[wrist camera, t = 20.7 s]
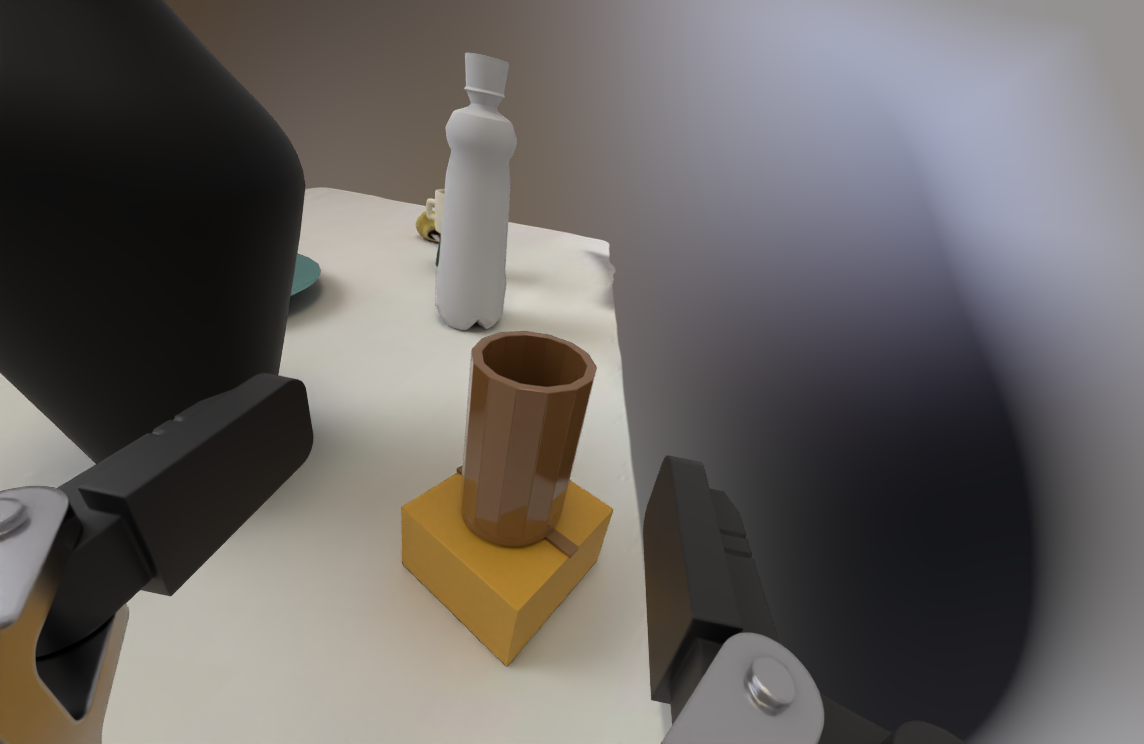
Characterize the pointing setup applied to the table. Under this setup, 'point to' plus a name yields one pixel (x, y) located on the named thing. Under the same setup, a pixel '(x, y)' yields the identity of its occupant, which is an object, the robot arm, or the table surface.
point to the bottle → (476, 201)
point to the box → (500, 564)
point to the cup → (522, 433)
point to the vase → (135, 219)
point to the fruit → (427, 228)
